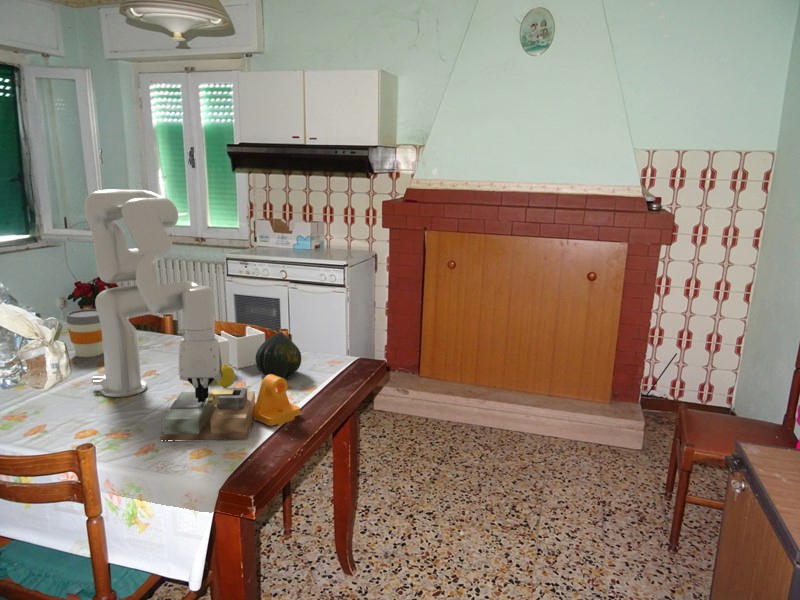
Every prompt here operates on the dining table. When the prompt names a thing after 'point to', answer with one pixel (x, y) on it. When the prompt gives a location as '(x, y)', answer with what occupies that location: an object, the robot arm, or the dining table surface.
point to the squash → (278, 356)
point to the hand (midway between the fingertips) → (202, 400)
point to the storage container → (240, 347)
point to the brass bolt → (215, 395)
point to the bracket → (274, 402)
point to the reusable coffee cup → (85, 332)
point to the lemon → (226, 376)
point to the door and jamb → (210, 417)
